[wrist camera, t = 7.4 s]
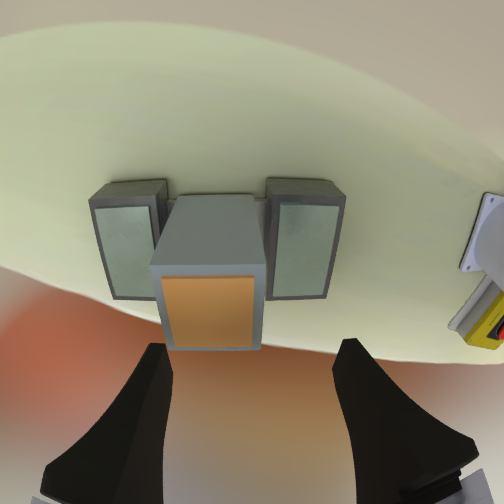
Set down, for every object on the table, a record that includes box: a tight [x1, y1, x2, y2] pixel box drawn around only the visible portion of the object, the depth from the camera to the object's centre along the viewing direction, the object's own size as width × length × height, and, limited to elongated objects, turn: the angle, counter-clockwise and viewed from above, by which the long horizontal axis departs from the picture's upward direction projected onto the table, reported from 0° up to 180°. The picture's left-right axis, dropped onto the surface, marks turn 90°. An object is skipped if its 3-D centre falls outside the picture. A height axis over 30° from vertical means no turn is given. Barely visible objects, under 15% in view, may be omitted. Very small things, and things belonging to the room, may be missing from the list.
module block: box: [149, 195, 266, 351], centre depth 15 cm, size 4×5×8 cm
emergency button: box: [448, 274, 504, 350], centre depth 26 cm, size 9×4×15 cm
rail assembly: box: [88, 179, 346, 301], centre depth 18 cm, size 15×7×4 cm, turn 88°
